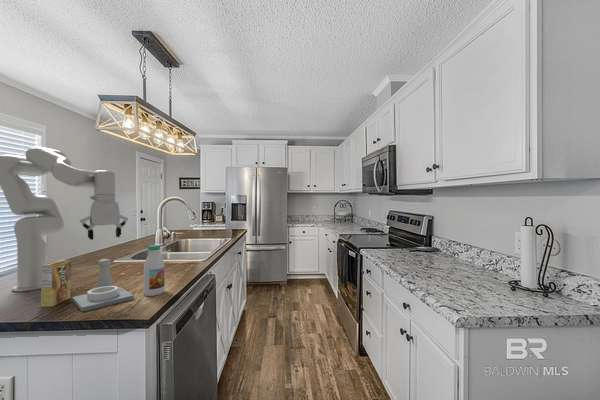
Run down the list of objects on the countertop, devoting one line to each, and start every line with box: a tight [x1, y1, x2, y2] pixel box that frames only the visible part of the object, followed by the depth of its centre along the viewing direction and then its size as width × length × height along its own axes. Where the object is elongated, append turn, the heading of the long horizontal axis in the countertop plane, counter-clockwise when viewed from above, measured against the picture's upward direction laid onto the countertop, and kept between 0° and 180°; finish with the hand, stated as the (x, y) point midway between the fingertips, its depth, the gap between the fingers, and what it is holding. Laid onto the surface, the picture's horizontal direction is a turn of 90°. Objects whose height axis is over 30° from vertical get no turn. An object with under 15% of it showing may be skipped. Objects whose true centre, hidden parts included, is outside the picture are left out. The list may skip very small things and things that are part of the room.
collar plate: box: [71, 285, 134, 313], centre depth 105 cm, size 16×16×4 cm
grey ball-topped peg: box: [95, 258, 113, 288], centre depth 117 cm, size 6×6×13 cm
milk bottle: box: [143, 244, 166, 297], centre depth 112 cm, size 8×8×20 cm
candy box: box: [40, 259, 72, 308], centre depth 102 cm, size 9×4×15 cm, turn 6°
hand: (105, 238), depth 117 cm, fingers open, 9 cm apart
